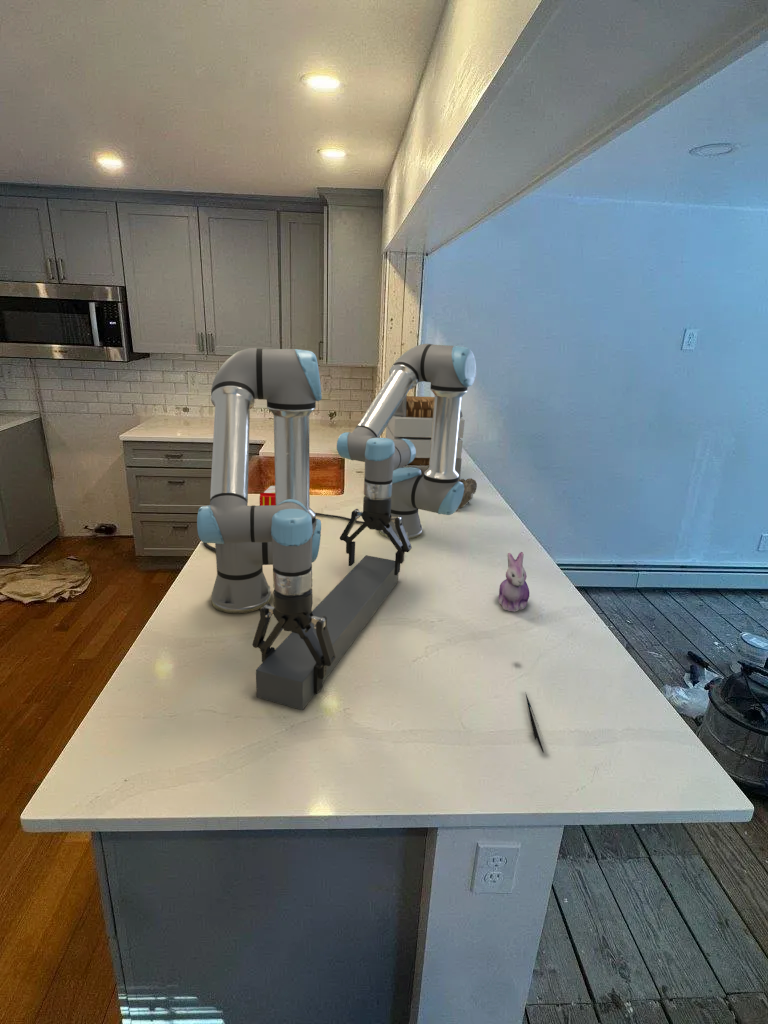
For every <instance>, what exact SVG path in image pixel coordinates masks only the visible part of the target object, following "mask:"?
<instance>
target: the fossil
mask: <svg viewBox="0 0 768 1024" xmlns="http://www.w3.org/2000/svg"><path fill="white" fill-rule="evenodd" d="M459 482H462V483H463V484H464V493H463V497H462V500H461V503H460V505H459V507H458V509H457V510H459V509H462V508H464V507H465V506H466V505H467V504H470V501H471V500H472V499H473V496H474V495H475V494H476V491H477V487H478V483H477V480H476V479H474V478H472V477H471V478H466V479H464V478H460V480H459Z"/></svg>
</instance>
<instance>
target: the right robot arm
mask: <svg viewBox="0 0 768 1024" xmlns="http://www.w3.org/2000/svg"><path fill="white" fill-rule="evenodd" d="M388 371H389V372H388V378H387V379H386V380H385V382H384V383H383V385H382V386H381V388H380V390H379V391H378V393H377V394H376V396H374V397H375V398H374V399H373V400H372V402H371V404H370V405H369V406H368V408H367V409H366V411H365V413H364V414H363V415H362V417H361V419H360V421H359V422H358V423H357V425H356V426H355V427H354V429H353V431H352V432H350V431H348V432H347V431H344V432H343V433H341V434H340V435H339V436H338V438H337V440H336V451H337V454H338V455H339V456H340V457H341V458H343V459H345V460H350V461H355V462H356V461H357V462H362V463H364V477H363V478H364V479H363V495H364V496H363V499H362V500H363V501H362V502H363V503H362V506H363V507H362V511H361V510H359V508H354V509H353V510H352V511H351V515H350V518H349V517H346V516H341V515H334V514H327V513H320V512H315V515H316V516H322V517H328V518H336V519H340V520H341V519H342V520H346V521H348V523H347V524H346V525H345V528H344V529H343V531H342V533H341V534H340V536H339V541H343V542H345V554H347V555H348V564H347V565H348V567H352V566H353V565H354V564H355V559H356V541H354V539H355V538H357V537H358V536H359V535H360V534H361V533H362V531H364V530H365V529H366V528H368V529H369V530H375V531H378V533H379V534H380V535H381V536H382V537H385V538H387V539H388V540H389V541H390V542H391V544H392V545H393V547H395V549H396V552H395V556H394V557H395V558H394V561H395V571H394V575H398V576H399V574H398V573H400V572H401V565H402V564H403V563H404V561H405V553H409V552H410V551H411V550H412V549H413V548H412V547H413V546H412V543H411V542H410V540H415V539H418V538H420V537H421V536H422V535H423V525H422V524H421V518H420V515H419V510H421V511H426V512H429V513H435V514H438V515H445V516H451V515H453V514H454V513H456V511H457V510H459V509H458V507H459V505H460V503H461V500H462V497H463V493H464V484H463V483H462V482H459V474H458V473H457V472H456V471H455V463H456V453H457V442H458V432H459V421H460V411H461V412H462V401H463V400H462V399H463V396H464V395H466V394H467V393H468V388H470V387H472V386H473V384H474V383H475V379H476V376H477V363H476V357H475V355H474V352H473V351H472V350H471V348H469V347H466V346H461V345H449V344H447V345H446V344H432V343H421V344H418V345H415V346H413V347H411V348H410V349H408V350H407V351H405V352H404V353H402V354H401V355H400V356H399V357H398V358H397V359H396V360H395V361H394V362H393V364H392V365H391V367H390V368H389V370H388ZM422 382H424V383H430V388H429V389H430V391H431V392H432V394H433V395H434V396H433V397H434V410H433V422H432V435H431V448H430V460H429V465H428V468H427V469H426V470H424V471H423V474H422V470H421V468H419V467H414V466H411V467H409V466H407V465H408V464H409V463H411V462H412V461H413V460H414V458H415V455H416V449H415V446H414V444H413V443H412V442H411V441H410V440H408V439H397V440H391V439H388V438H386V437H382V435H383V434H384V431H386V427H387V425H388V423H389V422H390V420H391V419H392V417H393V415H394V414H395V412H396V411H397V409H398V407H399V406H400V404H401V403H402V401H403V399H404V398H405V396H406V395H407V394H408V393H409V391H410V390H412V389H415V387H416V386H417V385H418V383H422ZM407 396H408V395H407ZM401 467H404V468H401ZM360 518H361V519H362V520H363V521H361V520H358V519H360ZM355 524H361V525H360V526H359V527H358V528H357V529H355V531H354V532H353V533H352V534H350V532H351V530H352V529H353V527H354V525H355ZM349 535H350V536H349Z"/></svg>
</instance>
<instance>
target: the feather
mask: <svg viewBox="0 0 768 1024" xmlns="http://www.w3.org/2000/svg"><path fill="white" fill-rule="evenodd" d="M525 697H526V698H525V699H526V703H527V708H528V714H529V719H530V723H531V728H532V733H533V738H534V740H537V742H538V744H539V746H540V749H541V751H542V753H545V751H544V749H543V746H542V741H541V739H543V737H544V736H543V734H541V735H542V736H539V733H542V730H541V729H539V731H538V728H539V727H540V725H539V723H538V721H537V719H536V716H535V713H534V711H533V708H532V705H531V703H530V700H529V697H528V694H527V692H526V691H525ZM536 725H537V726H536ZM540 737H541V739H540ZM544 744H545V743H544ZM544 746H547V745H546V744H545V745H544Z"/></svg>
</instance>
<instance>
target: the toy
mask: <svg viewBox="0 0 768 1024" xmlns="http://www.w3.org/2000/svg"><path fill="white" fill-rule="evenodd" d="M267 505H276V500H275V485H270V486H268V488H267V489H265V490H264V492H259V506H267Z"/></svg>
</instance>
